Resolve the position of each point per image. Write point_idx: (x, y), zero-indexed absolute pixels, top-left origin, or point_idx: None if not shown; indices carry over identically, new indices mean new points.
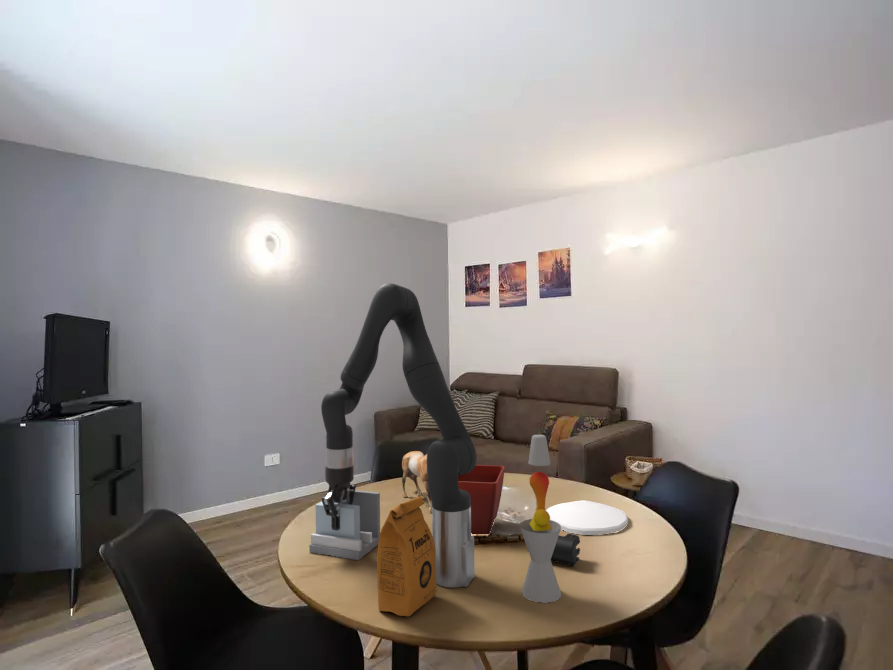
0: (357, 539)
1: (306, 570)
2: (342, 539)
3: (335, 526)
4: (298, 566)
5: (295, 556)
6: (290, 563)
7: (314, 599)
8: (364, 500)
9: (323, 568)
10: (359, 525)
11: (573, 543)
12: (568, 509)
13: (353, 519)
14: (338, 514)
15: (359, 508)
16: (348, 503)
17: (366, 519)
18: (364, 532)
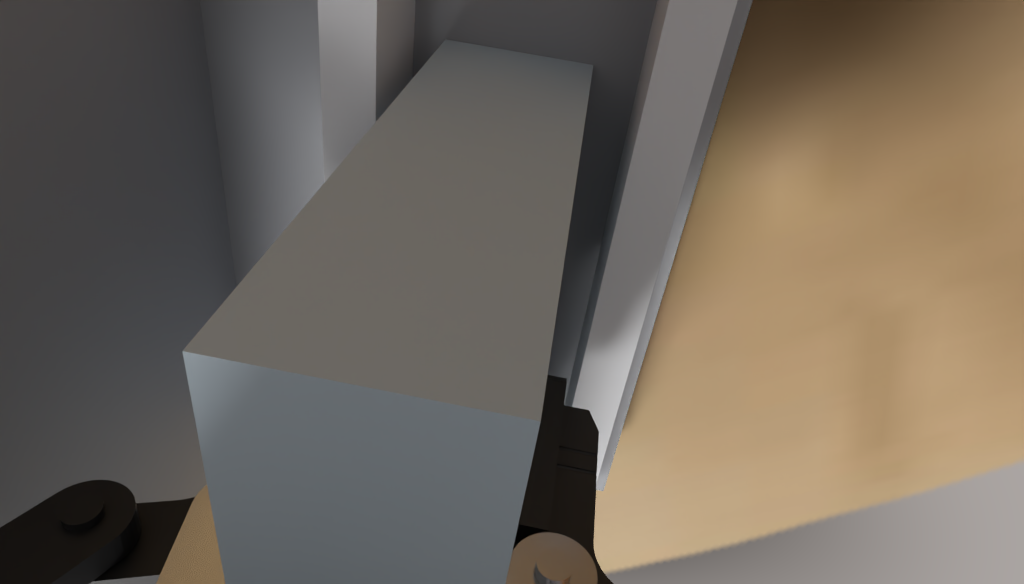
0: (504, 71)
1: (989, 361)
2: (662, 247)
3: (596, 444)
4: (888, 437)
5: (687, 502)
6: (822, 498)
7: None
8: None
9: (964, 238)
10: (389, 127)
11: None
12: None
13: (560, 262)
14: (568, 575)
15: (234, 304)
16: (101, 579)
17: (61, 116)
18: (351, 22)
